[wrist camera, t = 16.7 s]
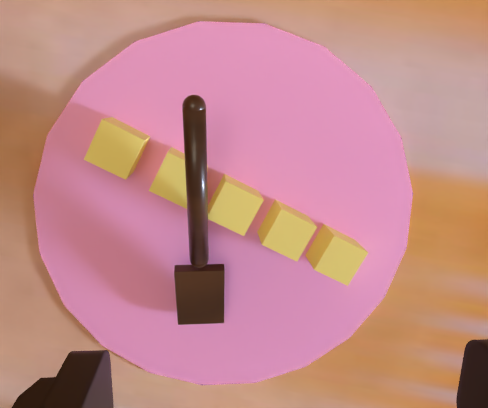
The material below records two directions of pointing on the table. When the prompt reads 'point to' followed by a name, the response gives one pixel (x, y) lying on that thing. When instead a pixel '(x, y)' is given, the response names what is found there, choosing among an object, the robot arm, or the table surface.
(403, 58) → the table surface
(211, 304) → the spatula
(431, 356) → the table surface
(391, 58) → the table surface
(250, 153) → the platter
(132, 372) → the table surface
